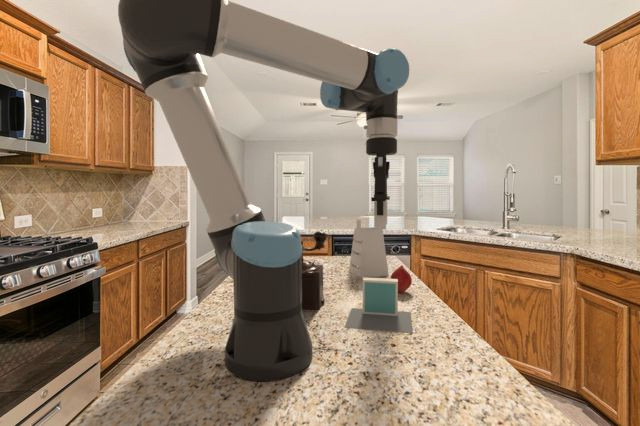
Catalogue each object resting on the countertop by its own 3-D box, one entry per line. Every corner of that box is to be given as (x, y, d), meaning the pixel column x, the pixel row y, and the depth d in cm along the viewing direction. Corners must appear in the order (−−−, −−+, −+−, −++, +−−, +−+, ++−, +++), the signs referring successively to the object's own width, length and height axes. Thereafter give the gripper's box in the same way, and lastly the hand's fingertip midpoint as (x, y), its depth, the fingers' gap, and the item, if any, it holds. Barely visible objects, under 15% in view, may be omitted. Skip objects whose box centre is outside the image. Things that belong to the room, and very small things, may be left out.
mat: (412, 334, 68) (412, 332, 68) (344, 328, 71) (344, 327, 71) (410, 313, 80) (410, 312, 80) (351, 309, 83) (351, 308, 83)
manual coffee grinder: (322, 312, 81) (321, 238, 80) (277, 310, 83) (276, 237, 82) (328, 292, 97) (328, 230, 96) (290, 291, 98) (289, 230, 97)
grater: (348, 270, 123) (348, 216, 122) (374, 268, 126) (375, 215, 125) (360, 277, 113) (360, 218, 112) (388, 275, 116) (389, 217, 115)
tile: (397, 316, 77) (397, 281, 77) (362, 313, 79) (362, 280, 79) (397, 312, 80) (397, 279, 79) (363, 310, 82) (363, 277, 81)
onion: (388, 294, 95) (388, 266, 94) (393, 288, 100) (393, 262, 99) (408, 297, 92) (409, 268, 91) (413, 291, 97) (413, 264, 97)
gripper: (369, 145, 95) (369, 222, 97) (361, 130, 73) (361, 232, 74) (396, 144, 94) (396, 222, 95) (397, 129, 71) (396, 232, 72)
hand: (381, 226), depth 85 cm, fingers open, 11 cm apart
